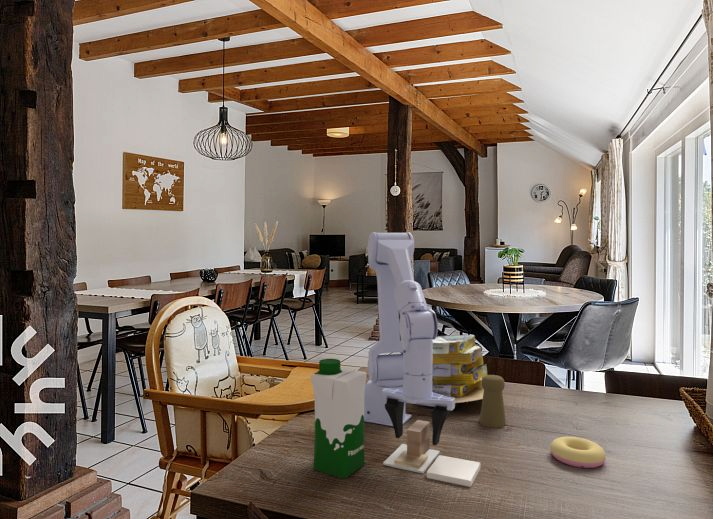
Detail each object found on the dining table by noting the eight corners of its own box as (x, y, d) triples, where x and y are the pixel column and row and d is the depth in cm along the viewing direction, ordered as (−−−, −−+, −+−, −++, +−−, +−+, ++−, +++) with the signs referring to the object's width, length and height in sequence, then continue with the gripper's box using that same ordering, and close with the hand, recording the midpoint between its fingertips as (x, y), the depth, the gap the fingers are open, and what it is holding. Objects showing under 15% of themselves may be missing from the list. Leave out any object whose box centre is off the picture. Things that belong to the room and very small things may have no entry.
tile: (439, 461, 103) (426, 479, 95) (439, 455, 103) (426, 472, 95) (480, 469, 99) (470, 488, 92) (480, 462, 99) (470, 480, 92)
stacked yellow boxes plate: (389, 398, 140) (389, 336, 139) (443, 379, 158) (443, 323, 157) (468, 421, 123) (469, 351, 122) (519, 397, 141) (520, 335, 140)
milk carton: (332, 453, 106) (332, 354, 105) (371, 464, 101) (372, 360, 100) (306, 470, 98) (305, 364, 97) (346, 482, 93) (346, 371, 92)
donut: (567, 456, 110) (541, 462, 104) (566, 433, 110) (540, 437, 105) (615, 466, 102) (590, 472, 96) (613, 441, 103) (588, 445, 97)
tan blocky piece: (411, 445, 109) (412, 418, 108) (435, 449, 107) (435, 422, 106) (394, 463, 100) (394, 435, 100) (419, 468, 98) (419, 439, 98)
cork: (507, 428, 119) (507, 380, 118) (479, 426, 120) (480, 378, 119) (505, 419, 125) (505, 373, 124) (478, 417, 126) (479, 371, 125)
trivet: (383, 464, 100) (383, 462, 100) (402, 445, 109) (402, 443, 109) (423, 473, 97) (423, 471, 97) (439, 452, 106) (439, 450, 106)
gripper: (375, 372, 103) (375, 440, 104) (447, 382, 97) (447, 454, 97) (389, 364, 109) (389, 428, 110) (458, 372, 103) (457, 440, 104)
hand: (417, 439), depth 104 cm, fingers open, 7 cm apart
